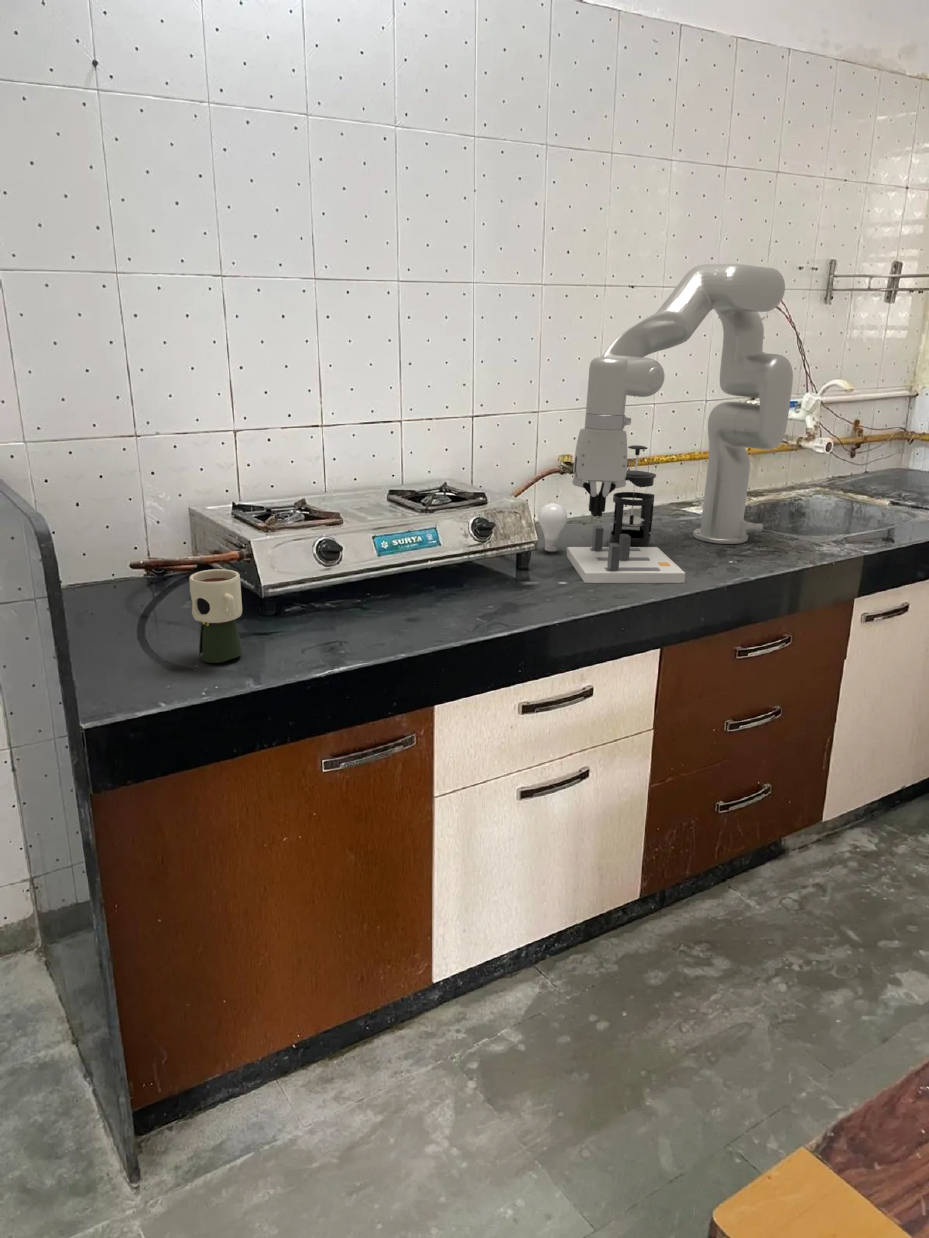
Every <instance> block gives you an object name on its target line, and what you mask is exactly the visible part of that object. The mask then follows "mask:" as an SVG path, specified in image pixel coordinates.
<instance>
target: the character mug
mask: <svg viewBox="0 0 929 1238" xmlns="http://www.w3.org/2000/svg"><path fill="white" fill-rule="evenodd" d="M240 576H241V575H240V573H239V572H238V571H235V570H232V569H224V568H223V569H222V568H221V569H219V568H217V569H216V568H213V569H207V570H206V569H205V570H200V571H197V572H194V573H192V574H191V575H190V576H189V577H188V578H189V579H188V580H189V592H190V598H191V603H192V604H191V606H192V608H191V614H192V616H193V617H192V618H193V619H194V621H197V622H200V623H201V625H200V632H199V645H198V646H199V647H198V649H199V650H198V658H199V659H200V658H202V659H201V660H202V661H203V662H206V663H214V664H217V663H224V662H225V663H226V662H227V661H229V660H232V659H235V658H239V656H241V655H242V654H243V650H242V644H241V638H240V633H239V630H238V629H239V628H238V625H237V622H236V621H235V620H236V619H238V618H240V617H241V616H242V614H243V602H242V589H241V588H242V587H241V586H242V585H241V577H240ZM201 655H202V656H201Z"/></svg>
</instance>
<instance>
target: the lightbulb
mask: <svg viewBox="0 0 929 1238" xmlns="http://www.w3.org/2000/svg"><path fill="white" fill-rule="evenodd" d="M537 521H538V524H539V526H540V528H541V530H542V532H543V536H544V544H545V546H544V550H545V551H546V552H548V553H550V554H552V553H554V552H557V551H558V540H559V538H560V536H561V535H560V534H561V531H562V530H563V529H564V528H565V526H566V524H567V521H568V513H567V510H566V509H565V507H563V506H562V505H561V504H559V503H556V502H550V503H546V504H545V505H543V506H542V507H541V508H540V510H539V511H538V514H537Z"/></svg>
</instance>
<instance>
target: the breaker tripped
mask: <svg viewBox="0 0 929 1238" xmlns="http://www.w3.org/2000/svg"><path fill="white" fill-rule="evenodd" d="M630 542H631V537H630V536H629V535H628V534H620V540H619V546H620V557H619V558H620V559H621V560H629V554H630Z"/></svg>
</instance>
